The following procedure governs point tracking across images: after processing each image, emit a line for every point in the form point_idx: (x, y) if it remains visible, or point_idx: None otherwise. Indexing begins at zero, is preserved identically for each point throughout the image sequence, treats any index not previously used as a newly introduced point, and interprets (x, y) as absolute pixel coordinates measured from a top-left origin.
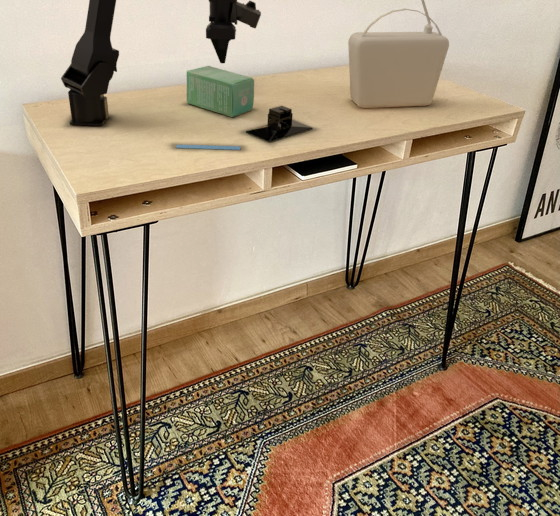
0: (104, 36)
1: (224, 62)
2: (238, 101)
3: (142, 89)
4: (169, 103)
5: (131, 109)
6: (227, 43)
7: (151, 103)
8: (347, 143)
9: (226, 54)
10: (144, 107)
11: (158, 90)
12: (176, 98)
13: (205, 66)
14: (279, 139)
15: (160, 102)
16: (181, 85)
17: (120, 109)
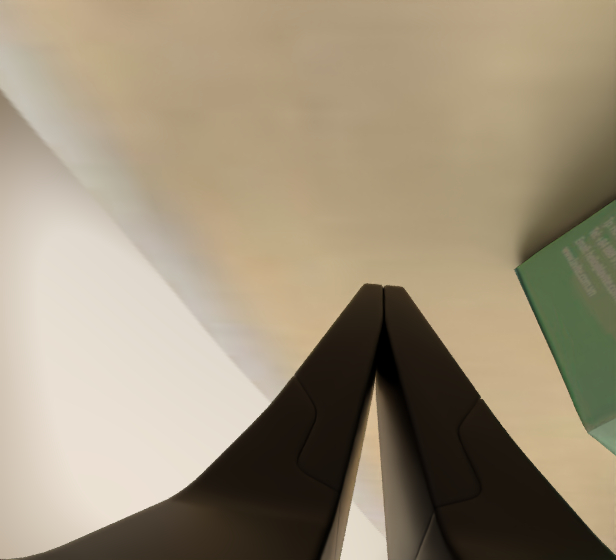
0: None
1: (407, 294)
2: None
3: (359, 466)
4: (572, 413)
5: (613, 503)
6: (568, 523)
7: (552, 458)
8: None
9: (445, 349)
10: (602, 476)
11: (370, 431)
12: (497, 388)
13: (613, 452)
14: None
15: (546, 436)
16: (286, 363)
17: (600, 522)
